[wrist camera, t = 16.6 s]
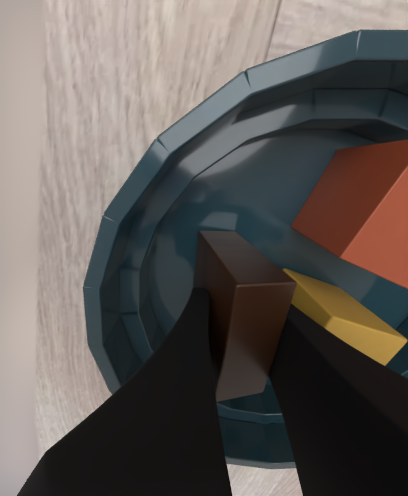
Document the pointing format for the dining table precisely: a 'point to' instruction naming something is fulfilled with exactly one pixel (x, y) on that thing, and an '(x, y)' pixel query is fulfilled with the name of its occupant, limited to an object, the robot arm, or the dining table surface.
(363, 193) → the terracotta block
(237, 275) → the flat brown block
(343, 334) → the mustard block
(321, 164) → the bowl
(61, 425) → the dining table surface
